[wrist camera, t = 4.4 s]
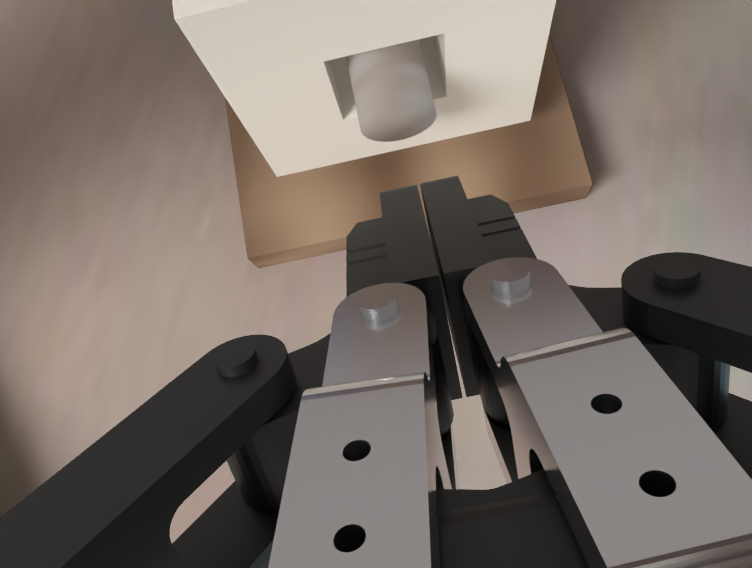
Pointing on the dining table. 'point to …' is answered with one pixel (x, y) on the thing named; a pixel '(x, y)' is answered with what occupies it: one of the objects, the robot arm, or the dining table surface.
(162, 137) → the dining table surface
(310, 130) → the white square block
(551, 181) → the rod rig
